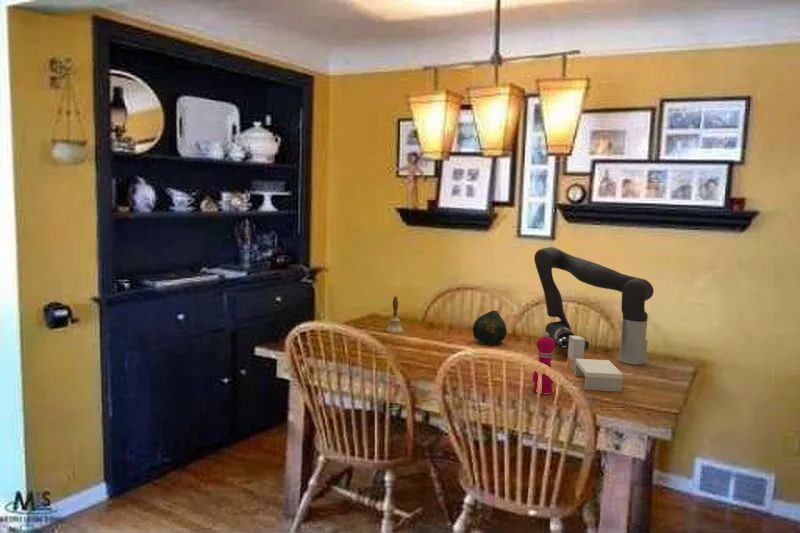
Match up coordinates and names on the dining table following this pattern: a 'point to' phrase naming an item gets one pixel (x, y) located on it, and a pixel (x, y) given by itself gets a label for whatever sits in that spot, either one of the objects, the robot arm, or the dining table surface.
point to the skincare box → (575, 350)
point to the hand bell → (395, 320)
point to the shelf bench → (599, 374)
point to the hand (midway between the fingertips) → (572, 347)
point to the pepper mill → (544, 361)
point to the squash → (489, 328)
